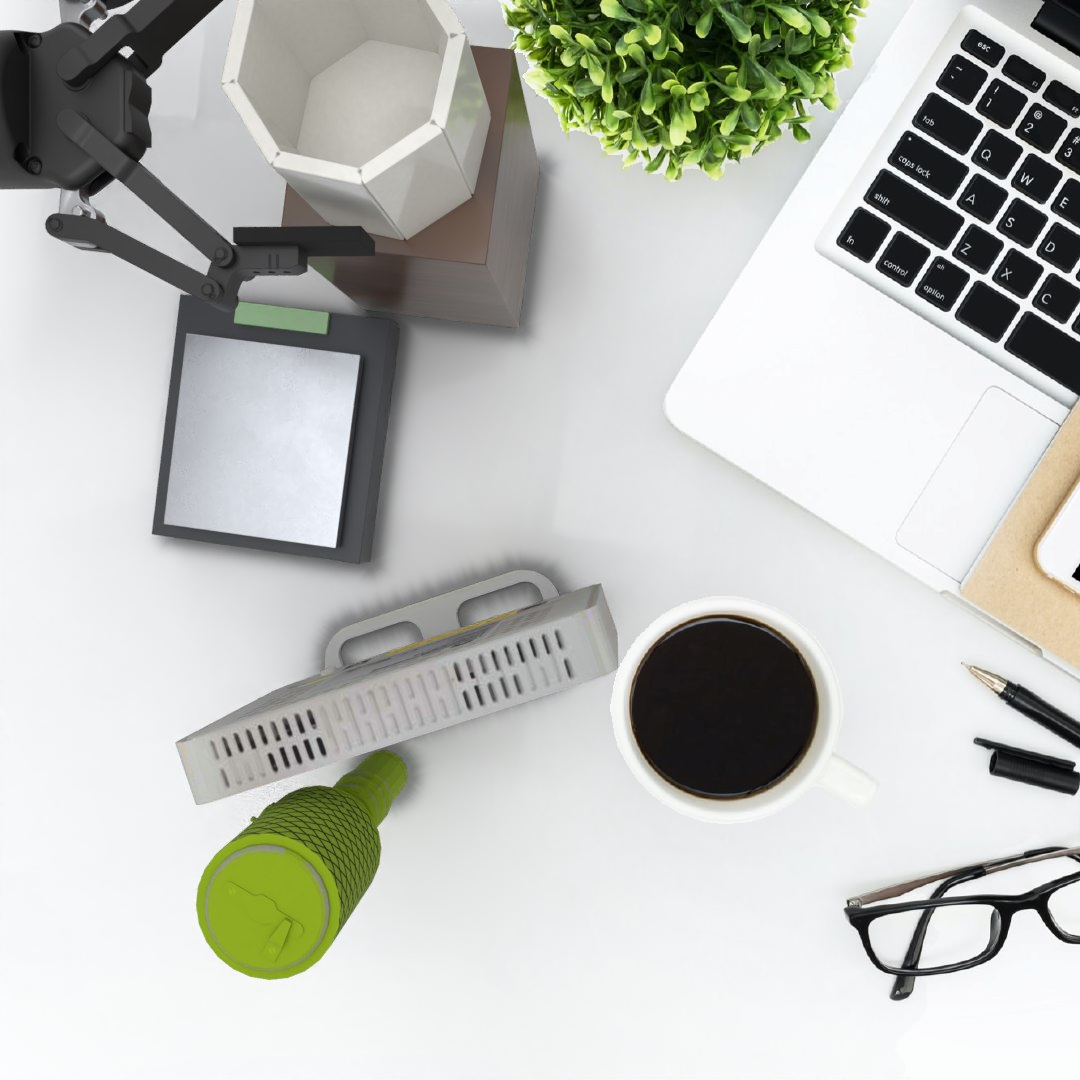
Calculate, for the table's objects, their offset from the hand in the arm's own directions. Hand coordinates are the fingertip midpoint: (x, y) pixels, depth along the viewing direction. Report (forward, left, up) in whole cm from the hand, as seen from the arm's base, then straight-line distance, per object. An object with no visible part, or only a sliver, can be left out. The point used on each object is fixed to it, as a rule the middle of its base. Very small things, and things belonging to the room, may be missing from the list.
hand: (370, 105), depth 47 cm
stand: (0, 0, -23) cm, 23 cm away
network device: (+31, +4, -24) cm, 39 cm away
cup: (-1, 0, -5) cm, 5 cm away
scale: (+16, -11, -23) cm, 30 cm away
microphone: (+41, 0, -24) cm, 47 cm away
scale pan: (+17, -11, -20) cm, 28 cm away
